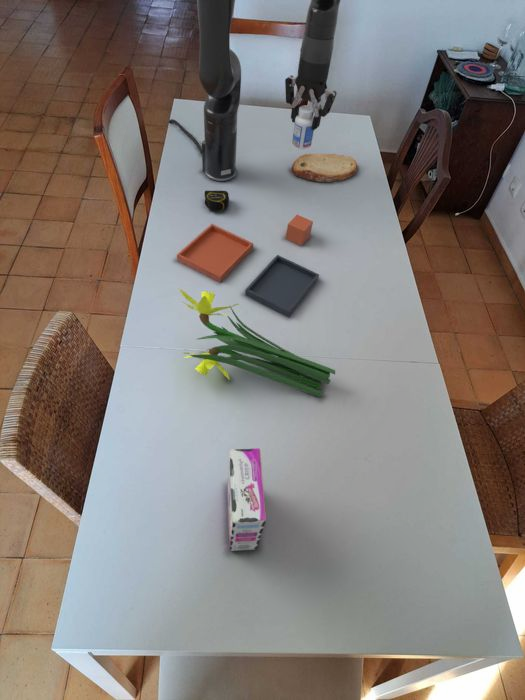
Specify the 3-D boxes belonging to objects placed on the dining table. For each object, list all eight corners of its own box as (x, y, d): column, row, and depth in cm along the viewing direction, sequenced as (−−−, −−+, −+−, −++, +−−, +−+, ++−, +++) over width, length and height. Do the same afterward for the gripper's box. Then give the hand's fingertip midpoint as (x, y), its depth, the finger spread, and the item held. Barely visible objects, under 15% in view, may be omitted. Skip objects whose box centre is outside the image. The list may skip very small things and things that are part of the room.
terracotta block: (285, 238, 124) (287, 223, 120) (294, 229, 126) (296, 214, 122) (301, 246, 122) (304, 231, 118) (310, 236, 125) (313, 221, 121)
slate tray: (245, 295, 110) (245, 289, 109) (276, 260, 118) (277, 254, 117) (288, 317, 107) (289, 311, 105) (317, 280, 115) (319, 274, 114)
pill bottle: (311, 140, 129) (317, 105, 121) (310, 150, 126) (317, 115, 118) (292, 137, 129) (297, 102, 121) (291, 148, 125) (296, 112, 118)
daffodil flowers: (313, 432, 91) (145, 369, 85) (306, 396, 104) (161, 340, 99) (352, 361, 85) (175, 288, 79) (340, 333, 98) (187, 270, 93)
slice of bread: (361, 167, 148) (364, 156, 145) (337, 193, 138) (340, 182, 135) (312, 148, 152) (314, 137, 149) (286, 172, 142) (287, 161, 139)
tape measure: (228, 199, 132) (228, 188, 129) (229, 214, 128) (229, 203, 125) (204, 199, 131) (204, 187, 128) (204, 214, 127) (204, 202, 124)
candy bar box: (259, 550, 76) (267, 521, 63) (229, 552, 75) (231, 524, 62) (254, 484, 83) (260, 446, 69) (226, 486, 82) (228, 448, 69)
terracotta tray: (177, 260, 115) (176, 254, 114) (212, 229, 124) (211, 223, 122) (220, 282, 112) (220, 276, 110) (252, 249, 120) (253, 243, 119)
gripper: (349, 59, 109) (333, 128, 123) (297, 42, 113) (288, 110, 127) (335, 70, 105) (321, 140, 119) (282, 51, 109) (274, 121, 122)
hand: (304, 124), depth 123 cm, fingers closed on pill bottle, 5 cm apart
